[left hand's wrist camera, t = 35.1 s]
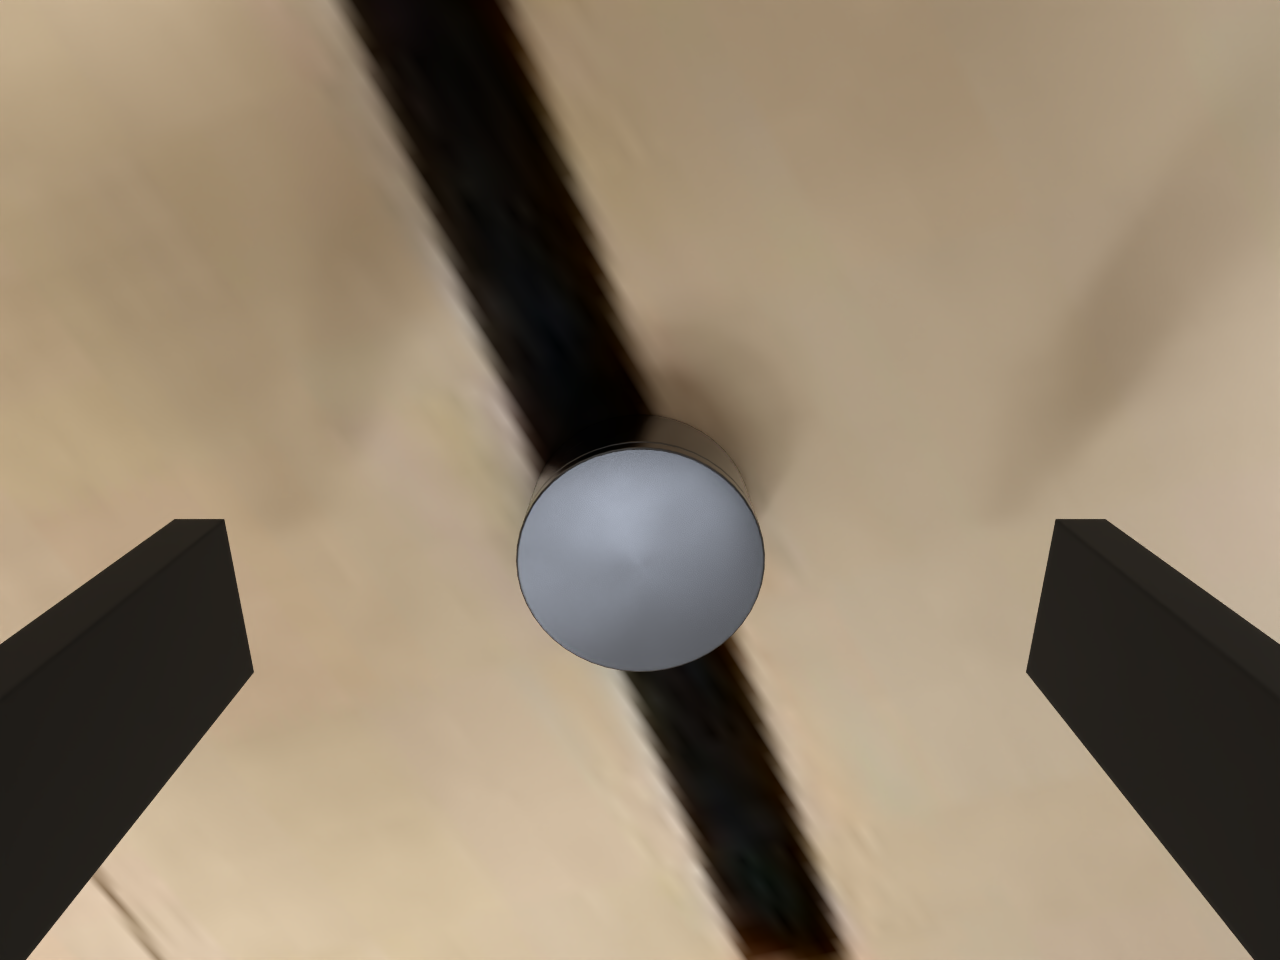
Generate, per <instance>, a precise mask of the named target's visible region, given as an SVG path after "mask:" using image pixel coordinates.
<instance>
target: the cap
mask: <svg viewBox="0 0 1280 960" xmlns="http://www.w3.org/2000/svg"><path fill="white" fill-rule="evenodd" d="M516 565H517V575H518V580H519V584H520V588H521V591H522V594H523V596H524V599H525V601H526V604H527V606H528V607H529V609H530V611H531V613H532V614H533V616H534V618H535V619H536V620H537V622H538V623H539V624H540V626H541V627H542V628H543V629H544V630H545V631H546V632H547V633H548V634H549V635H550V636H551V637H552V639H554V640H555V641H556V642H557V643H559V644H560V645H561V646H562V647H564V648H565V649H567V650H568V651H570V652H572V653H573V654H575V655H576V656H578V657H580V658H583V659H585V660H587V661H589V662H591V663H594V664H597V665H601V666H604V667H607V668H612V669H617V670H623V671H635V672H642V671H657V670H664V669H669V668H673V667H677V666H681V665H684V664H687V663H689V662H692V661H694V660H697V659H699V658H701V657H702V656H704V655H706V654H708V653H710V652H711V651H713V650H714V649H716V648H717V647H719V646H720V645H722V644H723V643H724V642H725V641H726V640H727V639H728V638H729V637H731V636H732V635H733V634H734V633H735V631H736V630H737V629H738V628H739V627H740V626H741V625H742V623H743V622H744V620H745V619H746V617H747V616H748V614H749V613H750V611H751V610H752V608H753V606H754V603H755V601H756V599H757V597H758V594H759V591H760V588H761V585H762V580H763V575H764V567H765V551H764V543H763V537H762V534H761V530H760V526H759V523H758V520H757V517H756V515H755V512H754V509H753V506H752V503H751V500H750V498H749V495H748V492H747V489H746V486H745V484H744V481H743V479H742V477H741V474H740V472H739V470H738V469H737V467H736V466H735V464H734V462H733V461H732V459H731V458H730V457H729V456H728V454H727V453H726V452H725V451H724V450H723V449H722V448H721V447H720V446H719V445H718V444H717V443H716V442H715V441H714V440H712V439H711V438H710V437H708V436H707V435H705V434H704V433H703V432H701V431H699V430H697V429H695V428H693V427H692V426H690V425H688V424H685V423H682V422H679V421H677V420H674V419H669V418H665V417H661V416H652V415H628V416H621V417H615V418H611V419H608V420H605V421H601V422H599V423H596V424H594V425H592V426H589V427H587V428H585V429H584V430H582V431H580V432H579V433H577V434H575V435H574V436H573V437H571V438H570V439H569V440H568V441H566V442H565V443H564V444H563V445H562V446H561V447H560V448H559V449H558V450H557V451H556V452H555V453H554V454H553V455H552V457H551V458H550V460H549V461H548V462H547V464H546V465H545V467H544V469H543V471H542V473H541V474H540V476H539V478H538V481H537V484H536V487H535V490H534V492H533V495H532V498H531V501H530V504H529V507H528V510H527V513H526V515H525V518H524V521H523V524H522V527H521V530H520V534H519V539H518V544H517V555H516Z"/></svg>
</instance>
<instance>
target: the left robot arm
mask: <svg viewBox="0 0 1280 960" xmlns="http://www.w3.org/2000/svg"><path fill="white" fill-rule="evenodd" d="M253 673H254V670H253V665H252V660H251V655H250V650H249V644H248V639H247V634H246V629H245V624H244V619H243V613H242V608H241V603H240V598H239V593H238V588H237V582H236V577H235V572H234V567H233V562H232V557H231V551H230V546H229V541H228V536H227V531H226V526H225V520H224V519H174V520H173V521H171V522H170V523H169V524H167V525H166V526H164V527H163V528H162V529H160V530H159V531H158V532H156V533H155V534H153V535H152V536H151V537H149V538H148V539H146V540H145V541H144V542H142V543H141V544H139V545H138V546H137V547H135V548H134V549H132V550H131V551H130V552H128V553H127V554H125V555H124V556H123V557H121V558H120V559H119V560H117V561H116V562H114V563H113V564H112V565H110V566H109V567H107V568H106V569H105V570H103V571H102V572H100V573H99V574H98V575H96V576H95V577H93V578H92V579H91V580H89V581H88V582H86V583H85V584H84V585H82V586H81V587H80V588H78V589H77V590H75V591H74V592H73V593H71V594H70V595H68V596H67V597H66V598H64V599H63V600H61V601H60V602H59V603H57V604H56V605H54V606H53V607H52V608H50V609H49V610H47V611H46V612H45V613H43V614H42V615H41V616H39V617H38V618H36V619H35V620H34V621H32V622H31V623H29V624H28V625H27V626H25V627H24V628H22V629H21V630H20V631H18V632H17V633H15V634H14V635H13V636H11V637H10V638H8V639H7V640H6V641H4V642H3V643H2V644H0V960H26V959H27V958H28V957H29V955H30V954H31V953H32V951H33V950H34V949H35V948H36V946H37V945H38V944H39V943H40V941H41V940H42V939H43V938H44V936H45V935H46V934H47V933H48V931H49V930H50V929H51V928H52V926H53V925H54V924H55V922H56V921H57V920H58V919H59V917H60V916H61V915H62V914H63V912H64V911H65V910H66V909H67V907H68V906H69V905H70V904H71V902H72V901H73V900H74V898H75V897H76V896H77V895H78V893H79V892H80V891H81V890H82V888H83V887H84V886H85V885H86V883H87V882H88V881H89V880H90V878H91V877H92V876H93V875H94V873H95V872H96V871H97V869H98V868H99V867H100V866H101V864H102V863H103V862H104V861H105V859H106V858H107V857H108V856H109V854H110V853H111V852H112V851H113V849H114V848H115V847H116V845H117V844H118V843H119V842H120V840H121V839H122V838H123V837H124V835H125V834H126V833H127V832H128V830H129V829H130V828H131V827H132V825H133V824H134V823H135V822H136V820H137V819H138V818H139V816H140V815H141V814H142V813H143V811H144V810H145V809H146V808H147V806H148V805H149V804H150V803H151V801H152V800H153V799H154V798H155V796H156V795H157V794H158V793H159V791H160V790H161V789H162V787H163V786H164V785H165V784H166V782H167V781H168V780H169V779H170V777H171V776H172V775H173V774H174V772H175V771H176V770H177V769H178V767H179V766H180V765H181V763H182V762H183V761H184V760H185V758H186V757H187V756H188V755H189V753H190V752H191V751H192V750H193V748H194V747H195V746H196V745H197V743H198V742H199V741H200V740H201V738H202V737H203V736H204V734H205V733H206V732H207V731H208V729H209V728H210V727H211V726H212V724H213V723H214V722H215V721H216V719H217V718H218V717H219V716H220V714H221V713H222V712H223V711H224V709H225V708H226V707H227V705H228V704H229V703H230V702H231V700H232V699H233V698H234V697H235V695H236V694H237V693H238V692H239V690H240V689H241V688H242V687H243V685H244V684H245V683H246V681H247V680H248V679H249V678H250V676H251V675H252V674H253ZM1026 673H1027V674H1028V675H1029V676H1030V678H1031V679H1032V680H1033V682H1034V683H1035V684H1036V685H1037V687H1038V688H1039V689H1040V690H1041V692H1042V693H1043V694H1044V695H1045V697H1046V698H1047V699H1048V700H1049V702H1050V703H1051V704H1052V705H1053V707H1054V708H1055V709H1056V711H1057V712H1058V713H1059V714H1060V716H1061V717H1062V718H1063V719H1064V721H1065V722H1066V723H1067V724H1068V726H1069V727H1070V728H1071V729H1072V731H1073V732H1074V733H1075V735H1076V736H1077V737H1078V738H1079V740H1080V741H1081V742H1082V743H1083V745H1084V746H1085V747H1086V748H1087V750H1088V751H1089V752H1090V753H1091V755H1092V756H1093V757H1094V758H1095V760H1096V761H1097V762H1098V764H1099V765H1100V766H1101V767H1102V769H1103V770H1104V771H1105V772H1106V774H1107V775H1108V776H1109V777H1110V779H1111V780H1112V781H1113V782H1114V784H1115V785H1116V786H1117V787H1118V789H1119V790H1120V791H1121V793H1122V794H1123V795H1124V796H1125V798H1126V799H1127V800H1128V801H1129V803H1130V804H1131V805H1132V806H1133V808H1134V809H1135V810H1136V811H1137V813H1138V814H1139V815H1140V817H1141V818H1142V819H1143V820H1144V822H1145V823H1146V824H1147V825H1148V827H1149V828H1150V829H1151V830H1152V832H1153V833H1154V834H1155V835H1156V837H1157V838H1158V839H1159V840H1160V842H1161V843H1162V844H1163V846H1164V847H1165V848H1166V849H1167V851H1168V852H1169V853H1170V854H1171V856H1172V857H1173V858H1174V859H1175V861H1176V862H1177V863H1178V864H1179V866H1180V867H1181V868H1182V870H1183V871H1184V872H1185V873H1186V875H1187V876H1188V877H1189V878H1190V880H1191V881H1192V882H1193V883H1194V885H1195V886H1196V887H1197V888H1198V890H1199V891H1200V892H1201V893H1202V895H1203V896H1204V897H1205V899H1206V900H1207V901H1208V902H1209V904H1210V905H1211V906H1212V907H1213V909H1214V910H1215V911H1216V912H1217V914H1218V915H1219V916H1220V917H1221V919H1222V920H1223V921H1224V922H1225V924H1226V925H1227V926H1228V928H1229V929H1230V930H1231V931H1232V933H1233V934H1234V935H1235V936H1236V938H1237V939H1238V940H1239V941H1240V943H1241V944H1242V945H1243V946H1244V948H1245V949H1246V950H1247V952H1248V953H1249V954H1250V955H1251V957H1252V958H1253V959H1254V960H1280V644H1278V643H1277V642H1276V641H1274V640H1273V639H1271V638H1270V637H1269V636H1267V635H1266V634H1265V633H1263V632H1262V631H1260V630H1259V629H1258V628H1256V627H1255V626H1253V625H1252V624H1251V623H1249V622H1248V621H1246V620H1245V619H1244V618H1242V617H1241V616H1239V615H1238V614H1237V613H1235V612H1234V611H1232V610H1231V609H1230V608H1228V607H1227V606H1226V605H1224V604H1223V603H1221V602H1220V601H1219V600H1217V599H1216V598H1214V597H1213V596H1212V595H1210V594H1209V593H1207V592H1206V591H1205V590H1203V589H1202V588H1200V587H1199V586H1198V585H1196V584H1195V583H1193V582H1192V581H1191V580H1189V579H1188V578H1187V577H1185V576H1184V575H1182V574H1181V573H1180V572H1178V571H1177V570H1175V569H1174V568H1173V567H1171V566H1170V565H1168V564H1167V563H1166V562H1164V561H1163V560H1161V559H1160V558H1159V557H1157V556H1156V555H1154V554H1153V553H1152V552H1150V551H1149V550H1148V549H1146V548H1145V547H1143V546H1142V545H1141V544H1139V543H1138V542H1136V541H1135V540H1134V539H1132V538H1131V537H1129V536H1128V535H1127V534H1125V533H1124V532H1122V531H1121V530H1120V529H1118V528H1117V527H1116V526H1114V525H1113V524H1111V523H1110V522H1109V521H1107V520H1106V519H1056V520H1055V525H1054V531H1053V536H1052V541H1051V546H1050V551H1049V556H1048V562H1047V567H1046V572H1045V577H1044V582H1043V587H1042V593H1041V598H1040V603H1039V608H1038V613H1037V618H1036V624H1035V629H1034V634H1033V639H1032V644H1031V649H1030V655H1029V660H1028V665H1027V670H1026Z"/></svg>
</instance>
